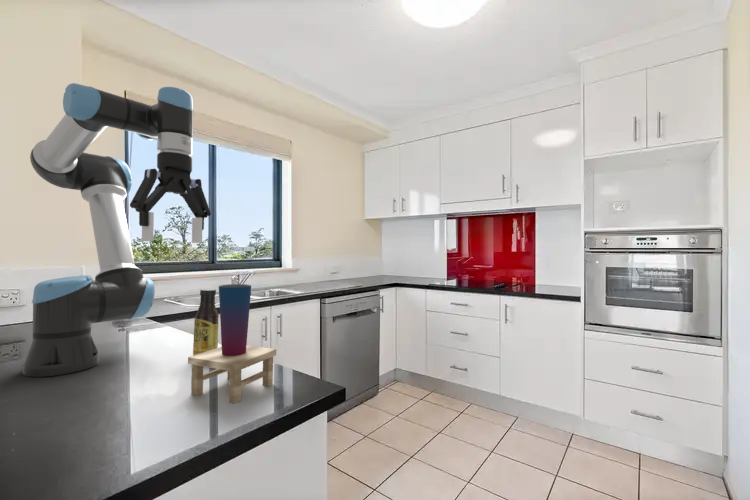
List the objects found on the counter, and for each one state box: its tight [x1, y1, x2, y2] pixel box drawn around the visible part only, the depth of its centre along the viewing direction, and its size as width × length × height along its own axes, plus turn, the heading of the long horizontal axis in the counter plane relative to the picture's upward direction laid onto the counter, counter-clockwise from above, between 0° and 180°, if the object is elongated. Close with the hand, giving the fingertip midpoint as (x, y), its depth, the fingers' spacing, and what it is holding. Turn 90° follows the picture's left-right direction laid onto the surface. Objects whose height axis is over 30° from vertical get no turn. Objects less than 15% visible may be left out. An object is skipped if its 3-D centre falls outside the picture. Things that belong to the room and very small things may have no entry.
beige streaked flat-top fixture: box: [187, 345, 277, 404], centre depth 83 cm, size 13×13×8 cm
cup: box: [218, 283, 252, 356], centre depth 83 cm, size 7×7×15 cm
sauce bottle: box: [192, 288, 220, 356], centre depth 104 cm, size 6×6×20 cm
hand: (173, 242), depth 90 cm, fingers open, 13 cm apart
